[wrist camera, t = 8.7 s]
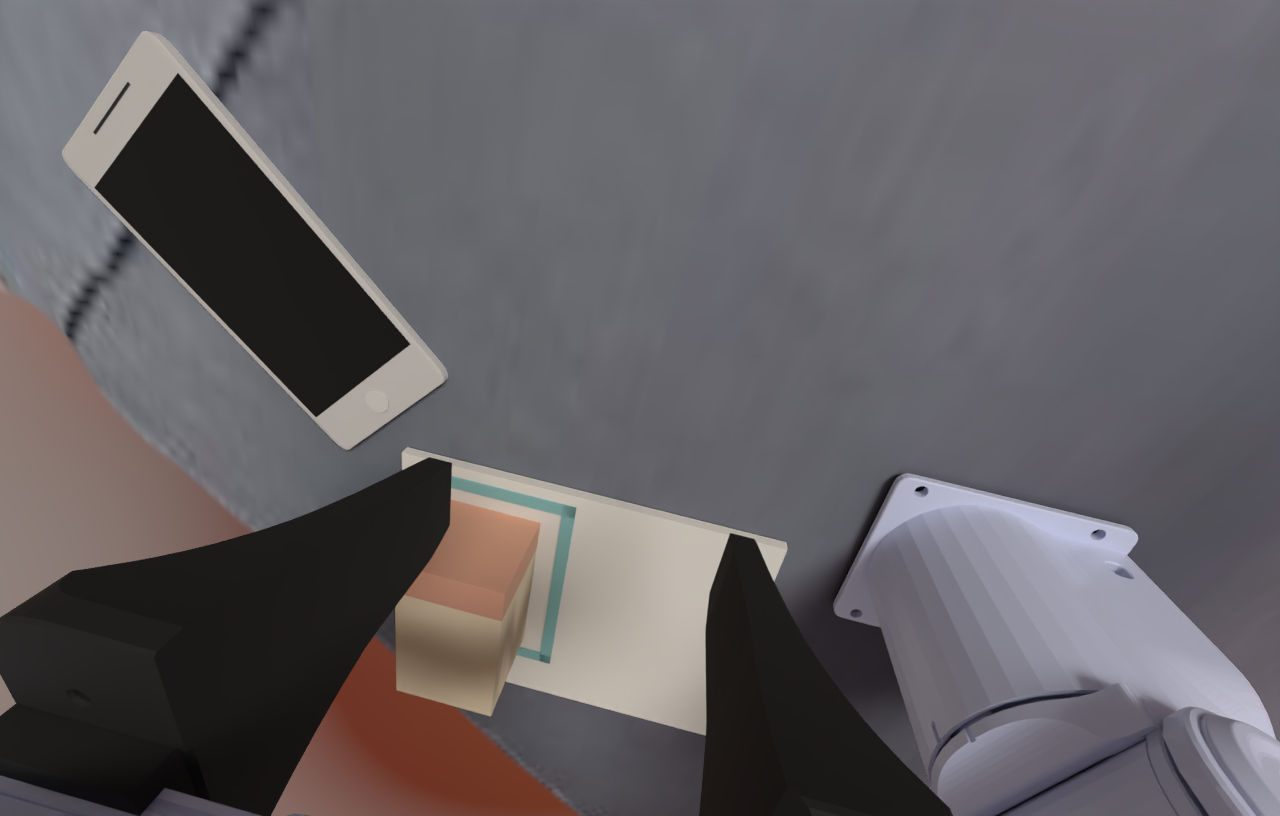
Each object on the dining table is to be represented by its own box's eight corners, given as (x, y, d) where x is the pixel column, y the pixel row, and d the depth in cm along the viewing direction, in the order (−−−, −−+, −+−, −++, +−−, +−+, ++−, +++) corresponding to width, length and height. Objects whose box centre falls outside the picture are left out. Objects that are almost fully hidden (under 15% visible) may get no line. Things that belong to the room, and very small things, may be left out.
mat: (786, 542, 24) (787, 551, 24) (709, 727, 31) (709, 738, 30) (407, 447, 25) (400, 453, 25) (409, 647, 31) (403, 655, 31)
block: (523, 637, 29) (490, 716, 25) (442, 615, 29) (396, 690, 25) (540, 522, 25) (505, 593, 21) (447, 498, 25) (394, 564, 21)
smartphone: (355, 444, 26) (343, 454, 25) (80, 156, 22) (54, 156, 21) (457, 371, 24) (447, 380, 23) (168, 29, 19) (142, 23, 18)
